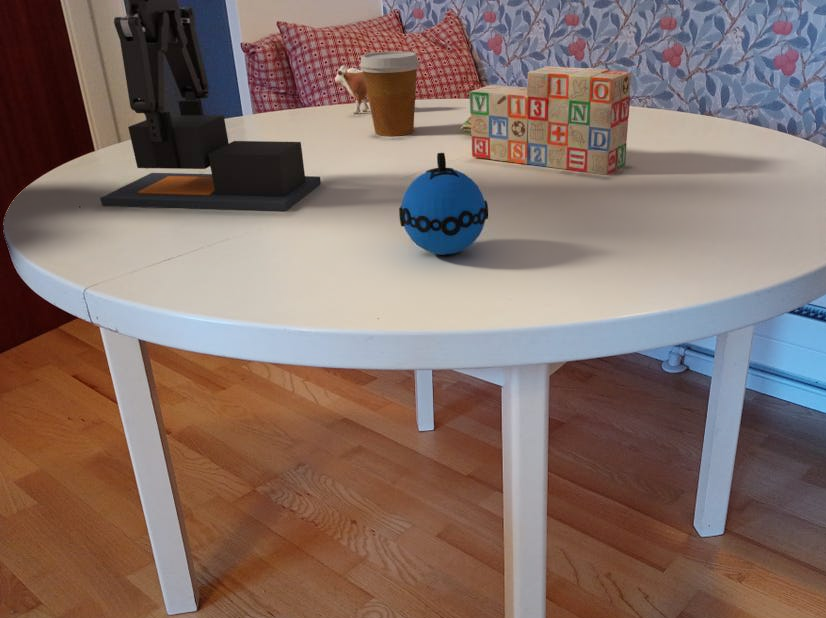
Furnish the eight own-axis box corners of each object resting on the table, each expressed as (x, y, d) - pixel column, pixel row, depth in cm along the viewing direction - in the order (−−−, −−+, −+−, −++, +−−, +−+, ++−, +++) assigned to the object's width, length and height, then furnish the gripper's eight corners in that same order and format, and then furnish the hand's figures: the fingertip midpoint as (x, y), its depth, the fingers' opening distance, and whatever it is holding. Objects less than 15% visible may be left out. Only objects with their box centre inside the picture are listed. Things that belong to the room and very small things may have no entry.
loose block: (137, 168, 100) (127, 126, 98) (166, 154, 106) (158, 115, 104) (205, 169, 99) (197, 126, 97) (231, 155, 105) (224, 115, 103)
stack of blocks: (470, 158, 118) (467, 67, 112) (492, 149, 122) (491, 62, 117) (608, 175, 107) (613, 76, 102) (627, 164, 112) (632, 69, 106)
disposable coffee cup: (354, 136, 133) (347, 58, 127) (382, 124, 140) (377, 50, 135) (407, 140, 129) (401, 59, 124) (433, 127, 137) (429, 51, 132)
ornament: (497, 263, 79) (495, 159, 75) (409, 271, 78) (401, 167, 73) (478, 235, 87) (475, 140, 82) (398, 243, 85) (390, 146, 81)
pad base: (101, 205, 101) (89, 156, 98) (153, 179, 111) (143, 135, 108) (285, 211, 97) (278, 160, 94) (321, 184, 107) (315, 137, 104)
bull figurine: (339, 110, 154) (335, 64, 150) (410, 109, 152) (407, 63, 149) (333, 114, 150) (328, 67, 146) (406, 113, 149) (402, 66, 145)
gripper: (125, -44, 83) (171, 181, 93) (215, -48, 100) (246, 142, 111) (58, -42, 84) (112, 180, 95) (159, -46, 101) (195, 141, 112)
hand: (184, 159), depth 103 cm, fingers closed on loose block, 7 cm apart
